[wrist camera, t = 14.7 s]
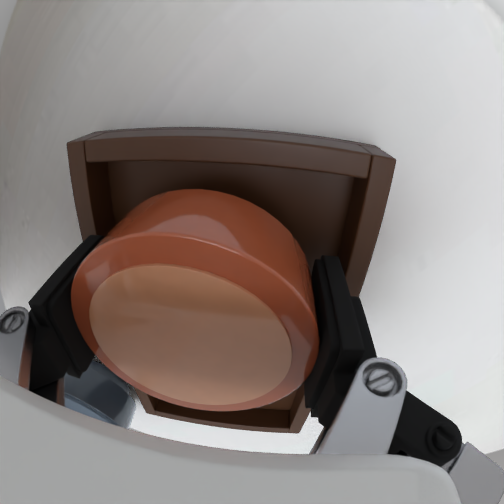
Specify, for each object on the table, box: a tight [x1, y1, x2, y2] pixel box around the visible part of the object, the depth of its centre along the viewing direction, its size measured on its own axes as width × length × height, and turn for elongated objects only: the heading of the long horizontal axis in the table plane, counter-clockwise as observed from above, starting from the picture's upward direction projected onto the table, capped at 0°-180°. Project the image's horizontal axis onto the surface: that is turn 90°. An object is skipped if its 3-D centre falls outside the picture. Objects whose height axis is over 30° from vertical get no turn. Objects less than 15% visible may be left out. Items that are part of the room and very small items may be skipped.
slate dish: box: [64, 360, 136, 429], centre depth 17 cm, size 7×7×4 cm
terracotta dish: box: [71, 189, 320, 411], centre depth 9 cm, size 7×7×4 cm
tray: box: [67, 127, 396, 433], centre depth 13 cm, size 11×18×2 cm, turn 177°
